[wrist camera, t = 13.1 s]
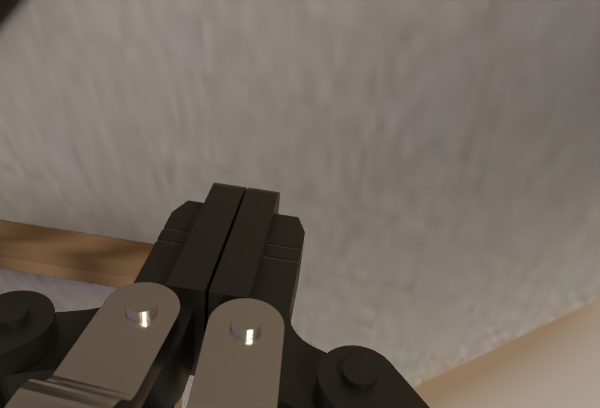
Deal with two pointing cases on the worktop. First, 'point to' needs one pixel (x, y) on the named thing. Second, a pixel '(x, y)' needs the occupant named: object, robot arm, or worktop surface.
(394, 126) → the worktop surface
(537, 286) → the worktop surface
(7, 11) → the door handle
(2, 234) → the box
